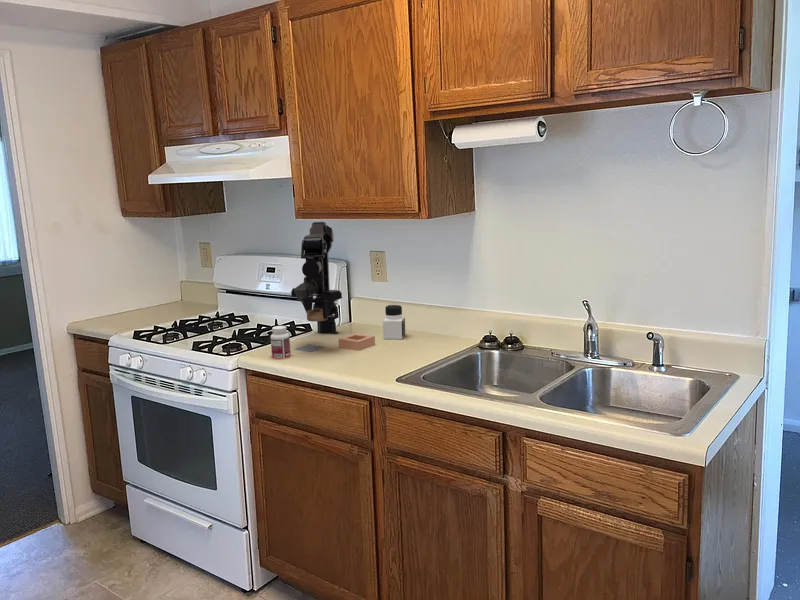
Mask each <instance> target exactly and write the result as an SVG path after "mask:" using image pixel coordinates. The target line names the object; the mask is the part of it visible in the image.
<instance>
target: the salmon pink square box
mask: <svg viewBox="0 0 800 600" xmlns="http://www.w3.org/2000/svg"><path fill="white" fill-rule="evenodd" d="M337 342H338V348H341V349H346V350H354V351H359V352H360V351H362V350H364V349H367V348H370V347H373V346H375V345H376V337H375V336H374V335H370V334H369V335H368V334H361V333H355V332H354V333H352V334H349V335H345V336H343V337H340V338H338V341H337Z"/></svg>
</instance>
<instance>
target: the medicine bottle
mask: <svg viewBox="0 0 800 600" xmlns="http://www.w3.org/2000/svg"><path fill="white" fill-rule="evenodd" d="M382 330H383V331H382V332H383V333H382V334H383V340H403V339H404V337H405V336H406V317H405V316H404V315H403V306H401V305H400V304H389V305H386V306H385V318H384V319H382Z"/></svg>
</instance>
